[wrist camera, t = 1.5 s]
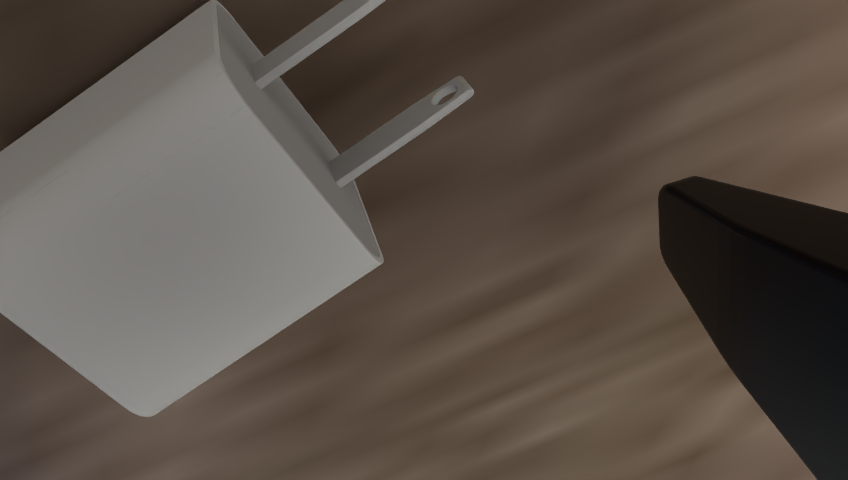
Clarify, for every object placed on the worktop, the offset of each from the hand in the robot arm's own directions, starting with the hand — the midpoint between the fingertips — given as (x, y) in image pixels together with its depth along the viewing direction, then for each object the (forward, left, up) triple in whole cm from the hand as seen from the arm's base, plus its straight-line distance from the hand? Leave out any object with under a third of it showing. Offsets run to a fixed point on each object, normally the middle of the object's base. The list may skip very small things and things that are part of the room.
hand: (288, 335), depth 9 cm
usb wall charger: (0, 0, -7) cm, 7 cm away
